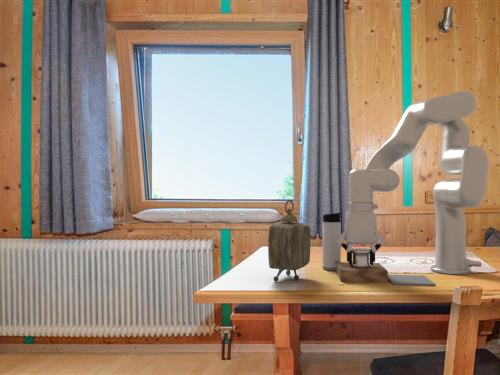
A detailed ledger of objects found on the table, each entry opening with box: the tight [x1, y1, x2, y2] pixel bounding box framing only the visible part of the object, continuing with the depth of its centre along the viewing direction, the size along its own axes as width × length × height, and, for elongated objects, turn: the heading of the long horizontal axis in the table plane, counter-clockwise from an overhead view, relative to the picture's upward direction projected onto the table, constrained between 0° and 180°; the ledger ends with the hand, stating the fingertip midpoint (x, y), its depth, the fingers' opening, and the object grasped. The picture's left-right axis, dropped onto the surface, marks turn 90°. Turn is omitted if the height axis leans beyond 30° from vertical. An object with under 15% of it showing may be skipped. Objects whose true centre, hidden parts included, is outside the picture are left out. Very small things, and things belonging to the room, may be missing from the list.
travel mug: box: [322, 211, 343, 272], centre depth 154 cm, size 6×7×20 cm
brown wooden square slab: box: [336, 261, 389, 284], centre depth 140 cm, size 14×14×4 cm
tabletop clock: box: [267, 199, 311, 283], centre depth 137 cm, size 14×9×25 cm, turn 155°
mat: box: [388, 274, 437, 287], centre depth 135 cm, size 12×12×1 cm
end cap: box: [351, 247, 371, 268], centre depth 140 cm, size 6×6×9 cm
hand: (360, 263), depth 140 cm, fingers closed on end cap, 6 cm apart
